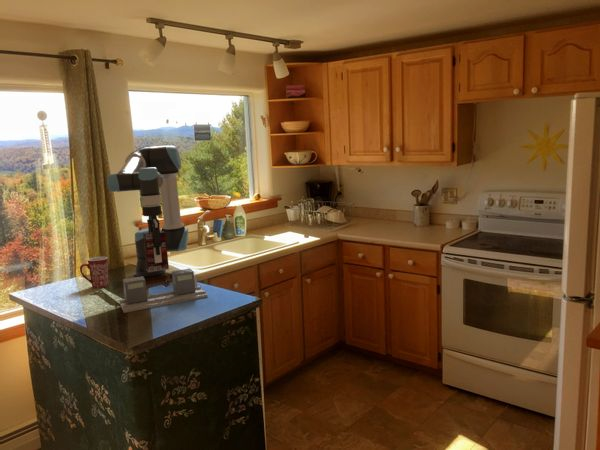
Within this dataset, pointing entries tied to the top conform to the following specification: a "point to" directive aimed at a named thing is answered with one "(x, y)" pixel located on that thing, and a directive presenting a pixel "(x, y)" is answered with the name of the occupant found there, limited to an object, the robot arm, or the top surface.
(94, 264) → the mug
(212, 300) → the top surface
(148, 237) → the supplement box
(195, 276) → the block
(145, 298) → the rail base
